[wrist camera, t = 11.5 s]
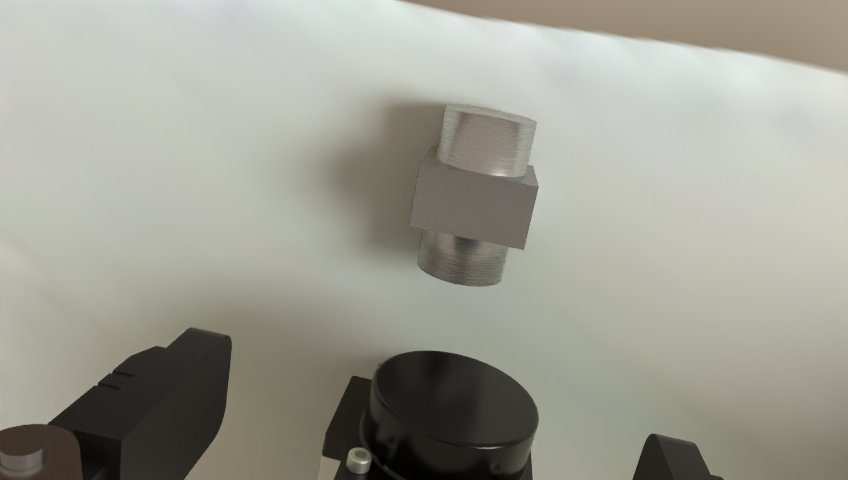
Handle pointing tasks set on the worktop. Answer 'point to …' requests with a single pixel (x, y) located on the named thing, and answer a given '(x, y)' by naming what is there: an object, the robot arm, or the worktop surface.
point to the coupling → (475, 195)
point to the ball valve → (431, 423)
